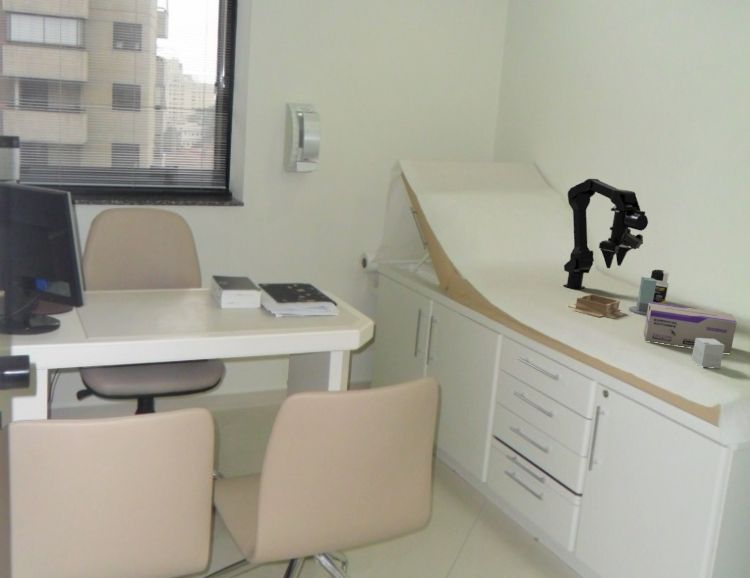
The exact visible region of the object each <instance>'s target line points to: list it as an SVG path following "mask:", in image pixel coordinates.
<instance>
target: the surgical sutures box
mask: <svg viewBox="0 0 750 578" xmlns="http://www.w3.org/2000/svg"><path fill="white" fill-rule="evenodd" d="M645 316H646V317H645V323H644V329H643V337H645V338H644V342H645V341H650V342H658V343H664V344H670V345H678V346H684V347H691V348H694V344H695V339H696V338H707V339H715V340H717V341H719V342H720V343H722V344H724V345H725V347H724V351H723V353H730V354H731V351H732V347H733V341H734V337H735V333H736V326H737V321H736V318H734V316H733V315H732V313H726V312H719V311H713V310H705V309H700V308H694V307H693V308H692V307H685V306H679V305H671V304H666V303H665V304H660V303H653V302H649V305H648V311H647V315H645Z"/></svg>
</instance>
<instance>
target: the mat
mask: <svg viewBox="0 0 750 578" xmlns="http://www.w3.org/2000/svg"><path fill="white" fill-rule="evenodd" d="M636 306H637V305H636ZM636 306H635V305H634V306H633V305H632V306H629V308H628V310H629V311H630V312H632V313H633V312H634V314H637V315H641V316H647V312H643V311H638V310H637V308H636Z"/></svg>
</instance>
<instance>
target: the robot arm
mask: <svg viewBox="0 0 750 578" xmlns="http://www.w3.org/2000/svg"><path fill="white" fill-rule="evenodd" d="M596 193H597V194H599V195H602V196H603V197H605V198H607V199H609V200H610V202H611V203H612V204H614V206H613V207H612V208H610V211H611V212H614V214H613V220H612V226H609V231H610V237H608V239H607V240H602V241H600V242H599V244H598V245H599V246H598V249H600V251H601V254H602V256H603V259H604V263H605V265H606V269H611V266H612V263H613V261H614V258H615V257H616V264H617V266H618V267H621V266H622V264H623V261H624V259H625V257H626V255H627V253H628V252H630V251H631V250H637V249H640V247H641V245H643V244H644V235H642V234H640V233H639V234H636V235H635V234H632V233H631V229H633V230H637V231H640V232H641V231H644V230H645V229H646V228H647V227H648V224H649V219H648V217H647V215H646V211H645V210H641V206H640V204H639V201H638V198H637V196H636V195H637V194H636V192H635V191H632V190H626V189H620V188H616V187H614V186H612V185H610V184H608V183H605V182H603V181H601V180H600V179H598V178H587V179H586V180H584V181H582V182H581V183H578V184H576V185H574V186H572V187H570V189H569V190H568V191H567V200H568V205H569V206H570V208H571V209H572V217H573V220H572V221H573V244H574V245H573V249H572V251H571V252H570V257H569V260H568V261H567V262H566V263H565V264H564V265H563V269H564V272H567V273H568V274H567V275H568V276H567V282H566V283H565V284H563V285H562V287H565V288H570V289H573V290H577V291H578V290H583V289H585V288H586V286H584V285H583V281H584V274H589V273H590V270H591V269H592V267H593V265H594V262H595V260H594V251H593V250H590V248H589V247H588V228H587V227H588V225H587V224H588V223H587V210H588V207H589V206H590V203H591V198H592V197H593V196H594V195H595V194H596Z"/></svg>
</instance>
